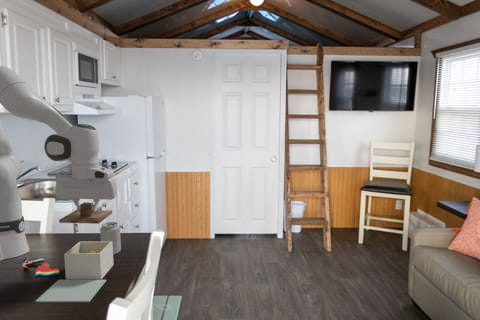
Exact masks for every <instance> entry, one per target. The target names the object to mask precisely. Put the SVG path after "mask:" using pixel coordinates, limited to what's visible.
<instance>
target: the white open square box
mask: <svg viewBox="0 0 480 320" xmlns="http://www.w3.org/2000/svg"><path fill="white" fill-rule="evenodd" d="M89 250H91V251H94V252H95V253H86V252H87V251H89ZM63 256H64V269H65V270H64V271H65V272H64V273H65V280H103V278H105V276H106V275H107V274H108V272H109V271H110V270H111V269H112V268H113V266H114V255H113V244H112V241H101V240H100V241H79V242H77V243H76V244H75V245H73V246H72V247H71V248H70V249H69V250H67V251H66V252H65V253H63Z"/></svg>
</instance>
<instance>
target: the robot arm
mask: <svg viewBox="0 0 480 320" xmlns="http://www.w3.org/2000/svg"><path fill="white" fill-rule="evenodd" d="M0 105H1V106H2V107H3V108H4V109H5V110H7V112H8V113H10V114H12V115H13V116H15V117H17V118H21V119H26V120H31V121H36V122H40V123H43V124H44V125H47V126H48V127H49V128H51V129H52V130H53V131H54V132H55V133H54V134H50V135H49V136H48V137H47V138H46V139H45V142H44V145H43V146H44V152H45V154H46V156H47V157H48V158H49V159H50V160H51V161H54V162H65V161H66V162H67V161H70V162H71V170H70V171H67V170H66V171H64V170H63V171H62V170H61V171H59V172H57V173H56V174H55V190H54V194H55V196H54V197H56V198H57V199H70V200H73V203H74V205H75V206H76V207H75V208H76V210H77V211H80V204H81V202H80V200H93V201H92V203H93V206H91V207H90V209H91V210H90V211H91V212H95V211H96V210H98V209H97V208H98V207H97V206H98V204H99V203H100V201H101V200H114V199H115V198H116V197H117V195H118V186H117V181H116V179H115V178H114V177H113V176H114V174H115V171H114V170H113V169H111V168H108V167H105V166H102V165H100V159H99V153H100V139H99V138H100V137H99V134H98V133H99V132H98V131H97V130H98V129H96V127H95V126H93V125H91V124H86V123H85V124H84V123H75V124H73V122H71V121H70V120H69V119H68V118H67V117H66V116H65V115H64V114H62V112H61V111H59V110H58V109H57V108H56V107H54V106H53V105H51V103H49V102H48V101H46V100H45V99H44V98H42V96H41V95H39V94H38V92H36V91H35V90H34V89H33V88H32V87H31V86H30V85H29V84H28V83H27V82H26V81H25V80H24V79H23V78H22V77H21V76H20V75H18V74H17V73H16V72H15V71H14V70H12V69H11V68H9V67H7V66H1V65H0ZM22 170H23V165H22V162H21V160H20V159H19V156H18V155H17V153H16V151H15V149H14V148H13V146H12V144H11V141H10V140H9V138H8V135H7V132H6V130H5V127H4V124H3V122H2V118H0V262H1V261H3V260H8V259H13V258H16V257H20V256H23V255H25V254H27V253H29V252H30V250H31V247H30V246H29V243H28V241H27V238H26V237H27V236H26V233H25V227H26V226H25V225H26V224H25V217H24V215H23V208H22V206H23V205H22V197H21V195H20V192H19V188H18V187H19V186H18V183H17V179H18V178H19V177H20V176H21V174H22V172H23V171H22Z"/></svg>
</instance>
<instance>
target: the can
mask: <svg viewBox="0 0 480 320" xmlns="http://www.w3.org/2000/svg"><path fill="white" fill-rule="evenodd" d="M99 232H100V233H99V235H100V241H112V244H113V256H115V255H117V254H119V253H120V252H121V250H122V243H121V226H120V225H119V223H118V222H115V221H109V222H105V223H102V224H101V227H100V228H99Z"/></svg>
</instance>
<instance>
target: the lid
mask: <svg viewBox="0 0 480 320" xmlns="http://www.w3.org/2000/svg"><path fill="white" fill-rule="evenodd" d="M93 205H94V202H82V203H80V211H77V209H76V210H73V211H71V213H70V212H69V214H67V215H65V216H63V217H62V218H59V219H58V223H59V224H60V223H61V224H95V225H96V224H100V223H102V222H103V221H104V220H106V219H107V218H108V217H109V216H111V215H112V214H113V210H111V209H110V210H106V209H105V210H104V209H100V210H99V209H97V210H96V211H95V212H91V211H90V210H91V209H90V207H91V206H93Z"/></svg>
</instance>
